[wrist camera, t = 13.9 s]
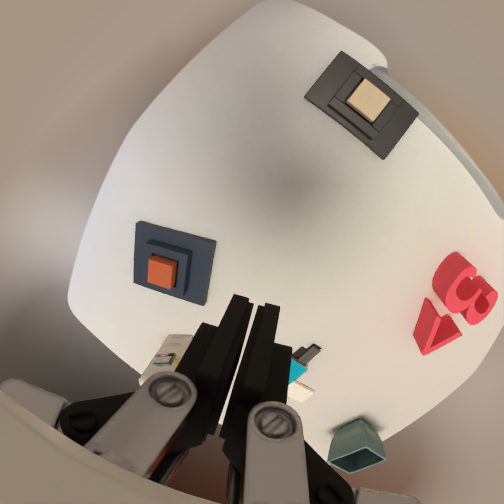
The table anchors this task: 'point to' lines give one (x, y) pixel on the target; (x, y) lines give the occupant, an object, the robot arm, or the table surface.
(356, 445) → the flower pot
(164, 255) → the stepped blue base
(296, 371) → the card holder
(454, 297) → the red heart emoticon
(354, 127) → the stepped dark pedestal
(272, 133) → the table surface
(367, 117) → the tan square block
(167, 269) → the orange block
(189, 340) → the ink box
